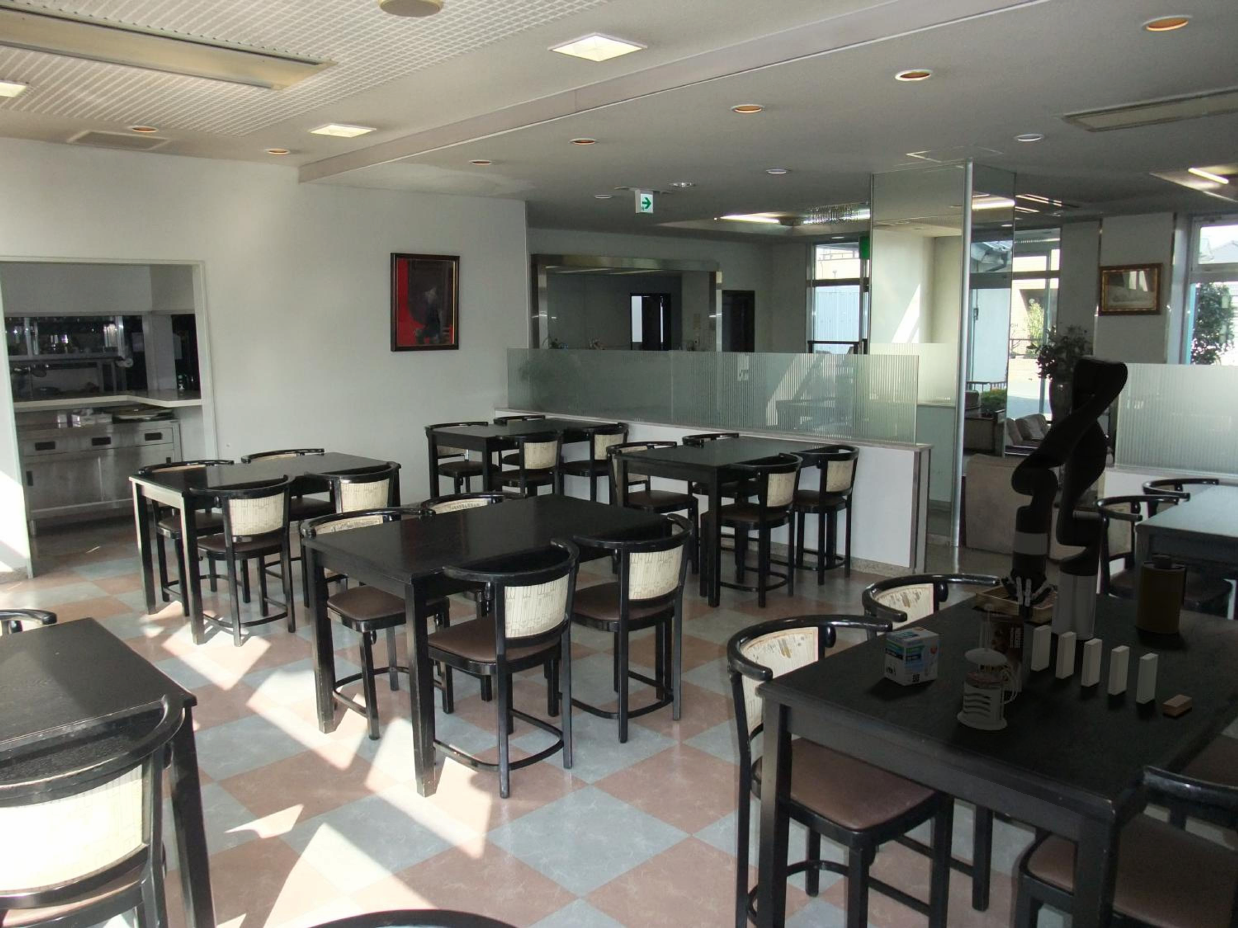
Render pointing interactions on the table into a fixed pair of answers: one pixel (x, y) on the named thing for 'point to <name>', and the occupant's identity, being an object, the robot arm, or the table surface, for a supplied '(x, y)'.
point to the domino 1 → (1041, 647)
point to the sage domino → (1147, 678)
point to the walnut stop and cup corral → (1044, 615)
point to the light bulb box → (911, 656)
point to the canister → (1161, 595)
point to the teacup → (1046, 601)
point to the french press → (985, 689)
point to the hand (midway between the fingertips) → (1025, 619)
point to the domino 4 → (1118, 670)
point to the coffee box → (1004, 646)
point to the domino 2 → (1065, 655)
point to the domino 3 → (1091, 662)
